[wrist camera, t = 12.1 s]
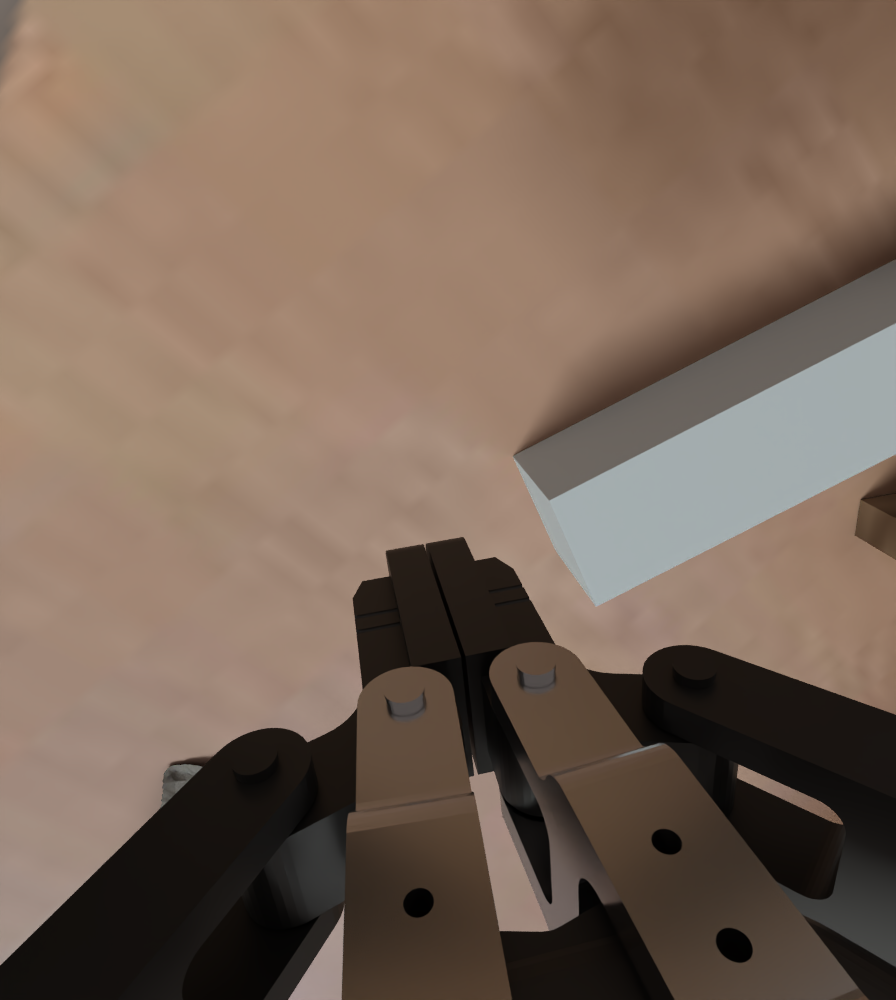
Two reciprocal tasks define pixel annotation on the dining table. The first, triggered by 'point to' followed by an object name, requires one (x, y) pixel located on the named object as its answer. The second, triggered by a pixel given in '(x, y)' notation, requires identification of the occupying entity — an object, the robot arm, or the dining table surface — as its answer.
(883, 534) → the end cap
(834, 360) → the white rectangular bar
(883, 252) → the dining table surface
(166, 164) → the dining table surface
